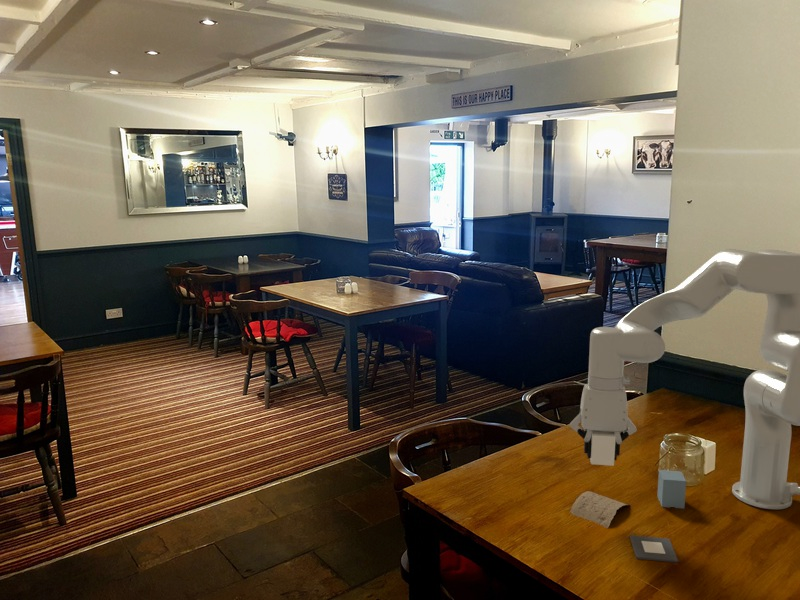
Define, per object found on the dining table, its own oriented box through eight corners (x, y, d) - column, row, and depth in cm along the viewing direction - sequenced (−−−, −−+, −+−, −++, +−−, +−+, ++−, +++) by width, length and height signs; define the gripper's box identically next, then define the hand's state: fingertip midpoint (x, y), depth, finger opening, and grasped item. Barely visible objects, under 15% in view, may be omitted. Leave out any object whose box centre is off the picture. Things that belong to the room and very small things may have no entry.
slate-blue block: (679, 498, 151) (680, 471, 149) (684, 508, 146) (686, 481, 145) (657, 496, 152) (658, 469, 150) (661, 506, 147) (663, 479, 146)
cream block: (610, 456, 146) (612, 428, 144) (613, 465, 141) (615, 436, 140) (588, 454, 147) (590, 426, 145) (591, 464, 142) (592, 435, 141)
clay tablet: (607, 532, 138) (608, 520, 137) (565, 516, 144) (566, 506, 144) (632, 506, 148) (633, 495, 148) (592, 493, 155) (592, 483, 155)
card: (668, 540, 133) (669, 538, 133) (678, 562, 125) (678, 560, 125) (629, 537, 135) (629, 534, 135) (636, 558, 127) (636, 556, 127)
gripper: (641, 378, 142) (637, 452, 146) (565, 375, 146) (562, 447, 149) (648, 389, 135) (643, 467, 138) (567, 385, 138) (564, 461, 142)
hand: (601, 456), depth 144 cm, fingers closed on cream block, 5 cm apart
